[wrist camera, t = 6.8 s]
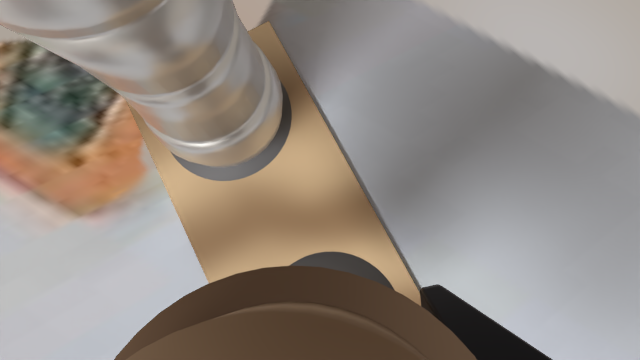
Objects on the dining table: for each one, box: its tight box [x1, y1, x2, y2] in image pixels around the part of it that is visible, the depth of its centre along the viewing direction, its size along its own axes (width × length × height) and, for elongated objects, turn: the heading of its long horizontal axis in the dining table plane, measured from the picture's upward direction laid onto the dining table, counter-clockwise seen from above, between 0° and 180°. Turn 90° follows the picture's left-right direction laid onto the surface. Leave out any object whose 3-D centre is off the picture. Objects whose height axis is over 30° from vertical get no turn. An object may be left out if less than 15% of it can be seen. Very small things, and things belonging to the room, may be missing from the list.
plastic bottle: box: [0, 0, 283, 167], centre depth 14 cm, size 6×7×20 cm
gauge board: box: [127, 21, 421, 306], centre depth 23 cm, size 21×9×1 cm, turn 28°
